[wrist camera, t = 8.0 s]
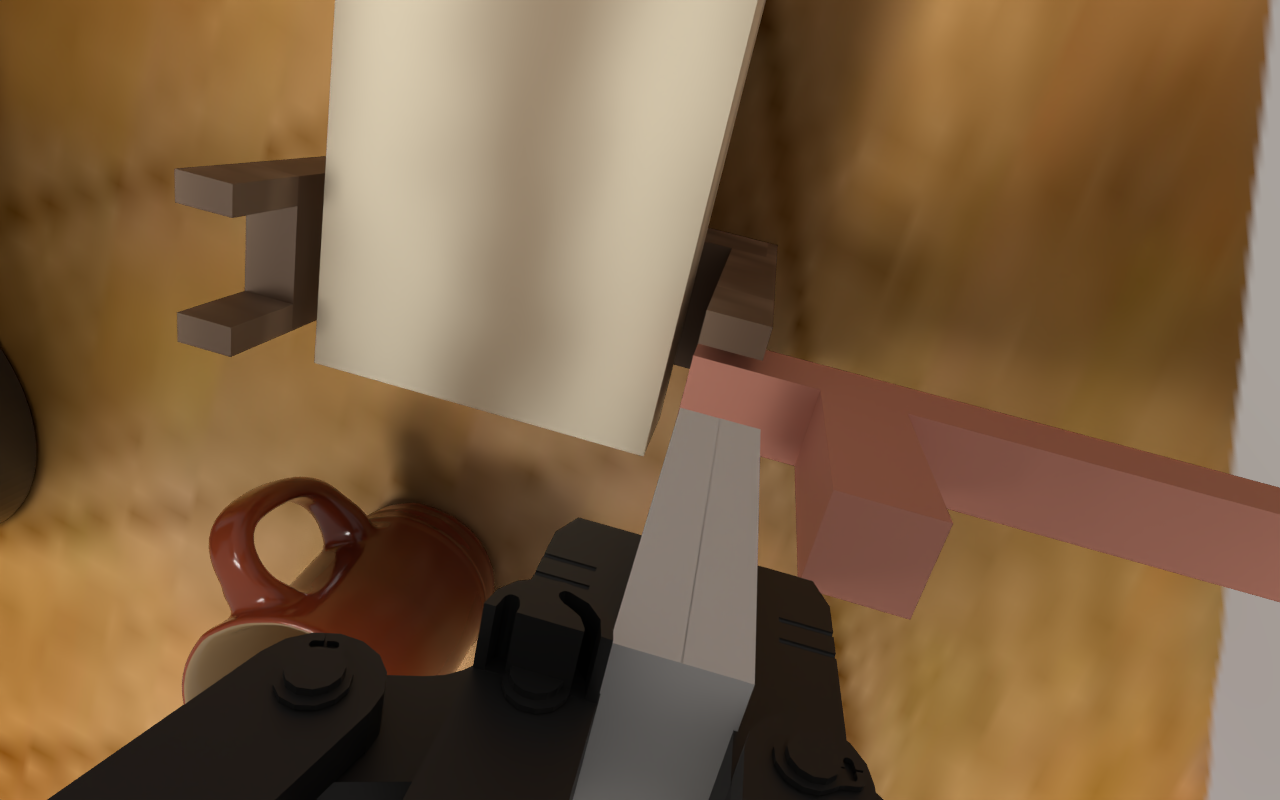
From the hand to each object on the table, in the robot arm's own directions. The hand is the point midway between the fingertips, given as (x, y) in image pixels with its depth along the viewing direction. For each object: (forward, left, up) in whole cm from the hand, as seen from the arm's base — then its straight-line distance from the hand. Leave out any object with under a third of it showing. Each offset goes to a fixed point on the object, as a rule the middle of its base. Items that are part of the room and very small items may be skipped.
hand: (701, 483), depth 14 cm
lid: (-7, +5, -9) cm, 12 cm away
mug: (-12, -14, -16) cm, 24 cm away
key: (+7, 0, -6) cm, 9 cm away
